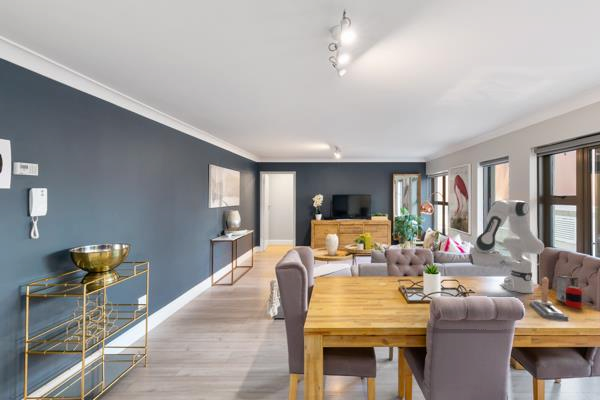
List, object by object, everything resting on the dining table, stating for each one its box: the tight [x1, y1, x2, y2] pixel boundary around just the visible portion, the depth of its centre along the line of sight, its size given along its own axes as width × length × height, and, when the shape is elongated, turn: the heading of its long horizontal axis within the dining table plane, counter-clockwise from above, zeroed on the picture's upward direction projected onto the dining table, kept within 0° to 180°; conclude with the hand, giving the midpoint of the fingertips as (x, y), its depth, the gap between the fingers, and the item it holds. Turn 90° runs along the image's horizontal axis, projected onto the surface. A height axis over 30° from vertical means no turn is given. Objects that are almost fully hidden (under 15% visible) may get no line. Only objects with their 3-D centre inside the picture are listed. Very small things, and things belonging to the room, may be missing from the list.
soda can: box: [564, 286, 583, 309], centre depth 196 cm, size 8×8×12 cm
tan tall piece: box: [536, 277, 553, 307], centre depth 190 cm, size 5×6×17 cm
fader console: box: [529, 299, 569, 321], centre depth 185 cm, size 22×11×4 cm, turn 161°
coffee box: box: [556, 275, 579, 303], centre depth 206 cm, size 9×6×16 cm
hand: (524, 262), depth 193 cm, fingers open, 8 cm apart
